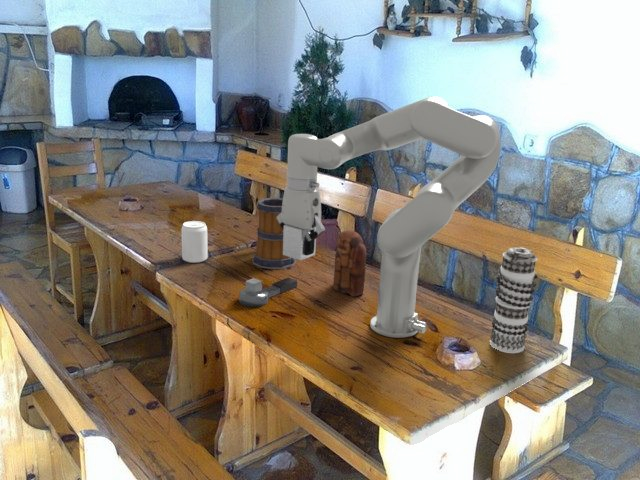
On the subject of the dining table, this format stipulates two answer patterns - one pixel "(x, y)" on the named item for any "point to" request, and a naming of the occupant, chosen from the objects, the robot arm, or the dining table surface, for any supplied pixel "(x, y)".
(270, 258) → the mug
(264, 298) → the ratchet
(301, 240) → the brushed metal cube
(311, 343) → the dining table surface
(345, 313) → the dining table surface
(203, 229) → the beverage can
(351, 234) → the wooden figurine
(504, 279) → the decorative candle
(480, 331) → the dining table surface
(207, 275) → the dining table surface
